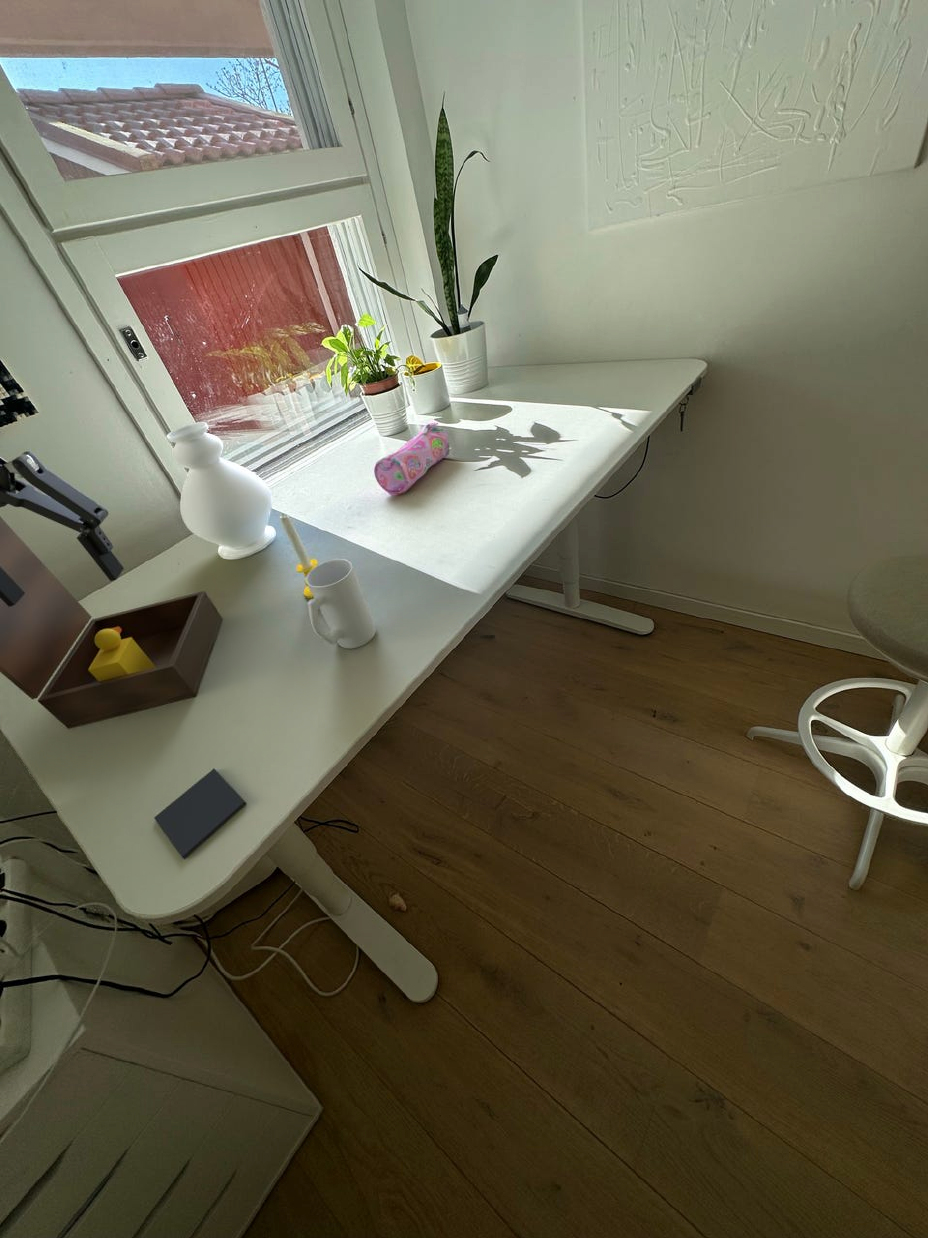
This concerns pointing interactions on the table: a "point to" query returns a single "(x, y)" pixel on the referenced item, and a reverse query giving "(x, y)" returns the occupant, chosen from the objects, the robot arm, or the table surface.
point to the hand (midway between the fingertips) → (67, 587)
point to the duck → (117, 656)
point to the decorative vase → (221, 495)
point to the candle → (299, 551)
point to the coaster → (199, 812)
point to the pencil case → (412, 460)
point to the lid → (34, 618)
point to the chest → (171, 642)
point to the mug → (339, 604)
